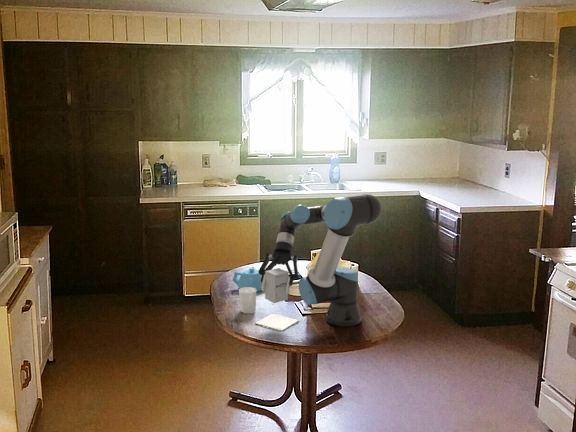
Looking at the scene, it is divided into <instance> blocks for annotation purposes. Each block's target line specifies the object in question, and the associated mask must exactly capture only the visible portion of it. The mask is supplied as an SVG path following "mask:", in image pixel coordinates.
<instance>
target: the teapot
mask: <svg viewBox="0 0 576 432" xmlns="http://www.w3.org/2000/svg"><path fill="white" fill-rule="evenodd" d="M258 271H259V269H255V267H254V266H251V267H249V268H248V269H245V270H244V271H243V272H241V271H237V270H235V272H234V275H233V277H232V280H231V281H232V282H233V283H234V284H235V285H236V286H237V288H238V290H239V289H240V288H244V287H252V288H255V289H256V293H261V292H263V291H262V289H261V287H262V283H261V277H262V275H259V272H258ZM238 276H239V278H238Z"/></svg>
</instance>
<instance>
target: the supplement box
mask: <svg viewBox="0 0 576 432" xmlns="http://www.w3.org/2000/svg"><path fill="white" fill-rule="evenodd" d="M288 277H289V272H288V270H285V269H281V268H278V267H277V268H272V270H268V271H265V290H264V299H265V300H267V301H269V302H271V303H273V304H276V303H277V304H278V303H280V302H284V301H288V300H289V293H286V286H287V281H288Z"/></svg>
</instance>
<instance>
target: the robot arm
mask: <svg viewBox="0 0 576 432" xmlns="http://www.w3.org/2000/svg"><path fill="white" fill-rule="evenodd" d="M382 212H383V205H382V203H381V201H380V199H378V198H377V196H374V195H372V194H358V195H350V196H338V197H335V198H334V197H333V198H332V199H329V200H328V202H327V203H326V204H322V205H314V206H307V205H303V204H298V205H296V206H294V208H292V209H291V211H286V212H283V213H282V215H281V218H280V221H279V227H278V232H277V237H276V242H275V246H274V251H273V253H272V254H269V253H268V252H267V253H266V254H265V258H264V260H263V262H262V263H261V266H260V267H259V269H258V270H259V271H258V272H259V275H262V277H261V283H262V287H261V289H262V291H261V292H265V271H268V270H273V269H274V268H275V266H277V265H281V266H285V267H286V269H287V272H288V275H289V276H288V281H287V286H286V293H288V294H289V293H290V288H291V286H293V285H294V280H295V279H299V272H298V271H299V270H298V264H297V263H298V256H297V255H294V256H293V255H292V253H293V246H294V242H295V237H296V232H297V230H298V229H299V228H300V227H301V226H304V225H306V226H307V225H313V224H320V223H321V224H322V223H325V224H326V227H327V233H326V235H325V238H324V241H323V243H322V246H321V248H320V251H319V254H318V257H317V259H316V262H315V265H314V266H313V267H312V268H310V269H309V270H308V273H307V276H306V277H305V276H303V277H301V278H300V279H299V281H298V290H299V295H300V297H301V300H302V301H303V303H305V304H306V305H309V306H311V305H318V304H323V303H328V302H330V303H329V306H328V309H327V311H326V314H325V320H326V322H327V323H329V324H330V325H333V326H336V327H337V326H338V327H353V326H356V325H359V324H360V323H362V315H361V312H360V308H359V307H360V306H359V305H358V292H359V274H358V273H359V272H357V271H356V270H355V269H352V268H349V267H345V266H339V263H340V260H341V259H342V256H343V253H344V251H345V248H346V246H347V243H348V242H349V239H350V237H353V236H354V235H355V234H356V232H357V230H358V227H361V226H365V225H367V226H368V225H371V224H373V223H375V222H377V221H378V220H379V219H380V217H381V216H382ZM271 259H272V260H271ZM270 260H271V262H270ZM290 261H292V265H293V271H294V273H293V271H292V269H291V267H290V263H289V262H290ZM269 262H270V263H269Z"/></svg>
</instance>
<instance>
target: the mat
mask: <svg viewBox="0 0 576 432" xmlns="http://www.w3.org/2000/svg"><path fill="white" fill-rule="evenodd" d="M299 322H300V320H299V319H296V318H295V319H294V318H291V317H287V316H285V315H280V314H275V313H270V314H269V315H267V316H265V317H264V318H261V319H260V320H258V321H256V322H255V323H254V325H256V324H258V325H257V326H260V325H261V326H260V327H263V326H265V327H264V328H267V327H268V328H267V329H271V330H275V331H278V332H282V333H283V332H284V331H285V330H287V329H289V328H291V327H292V326H294V325H296V324H298V323H299Z"/></svg>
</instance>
